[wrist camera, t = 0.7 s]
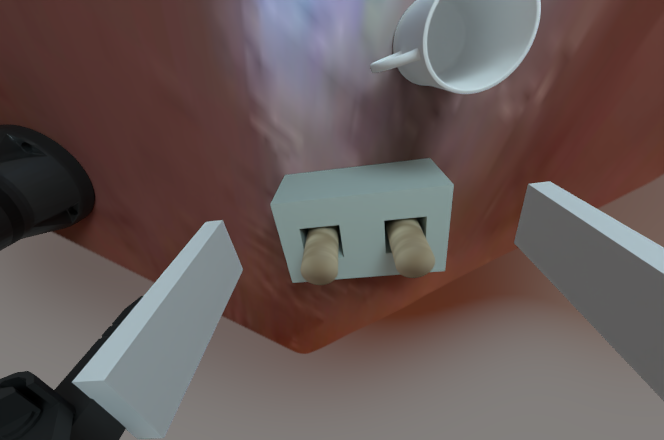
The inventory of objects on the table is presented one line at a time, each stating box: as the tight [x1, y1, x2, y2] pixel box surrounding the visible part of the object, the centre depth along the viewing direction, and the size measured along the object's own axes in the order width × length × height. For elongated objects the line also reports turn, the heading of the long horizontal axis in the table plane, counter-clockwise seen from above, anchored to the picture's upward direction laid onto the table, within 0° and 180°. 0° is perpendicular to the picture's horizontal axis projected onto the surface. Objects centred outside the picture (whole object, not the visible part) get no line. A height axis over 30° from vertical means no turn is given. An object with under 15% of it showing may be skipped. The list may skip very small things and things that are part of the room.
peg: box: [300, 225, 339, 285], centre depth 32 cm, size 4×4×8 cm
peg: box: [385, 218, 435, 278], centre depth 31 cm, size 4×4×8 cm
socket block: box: [270, 158, 454, 283], centre depth 36 cm, size 20×12×9 cm, turn 98°
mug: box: [370, 0, 541, 94], centre depth 25 cm, size 12×8×12 cm
